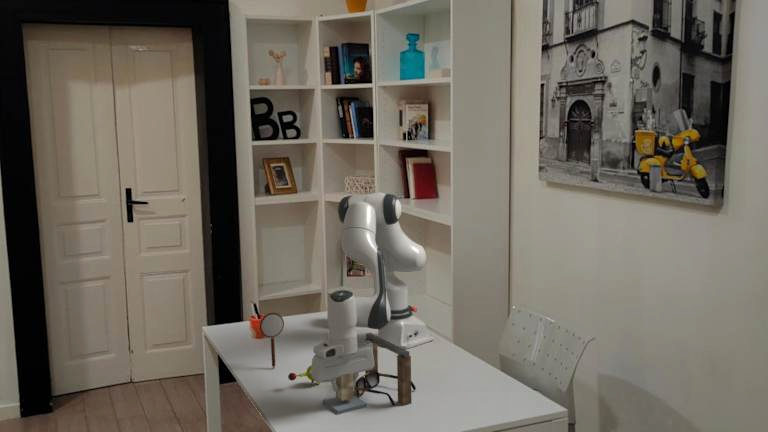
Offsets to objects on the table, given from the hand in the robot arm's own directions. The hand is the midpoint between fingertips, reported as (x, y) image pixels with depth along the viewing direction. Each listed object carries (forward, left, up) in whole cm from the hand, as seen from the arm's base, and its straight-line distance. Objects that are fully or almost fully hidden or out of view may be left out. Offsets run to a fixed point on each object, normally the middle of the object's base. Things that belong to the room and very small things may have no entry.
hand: (344, 388), depth 229 cm
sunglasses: (-14, 0, -5) cm, 15 cm away
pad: (0, 0, -5) cm, 5 cm away
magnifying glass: (+5, -42, -5) cm, 43 cm away
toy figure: (0, -20, -5) cm, 21 cm away
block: (0, 0, -3) cm, 3 cm away
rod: (-16, -1, +10) cm, 19 cm away
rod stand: (-16, -1, -5) cm, 17 cm away
